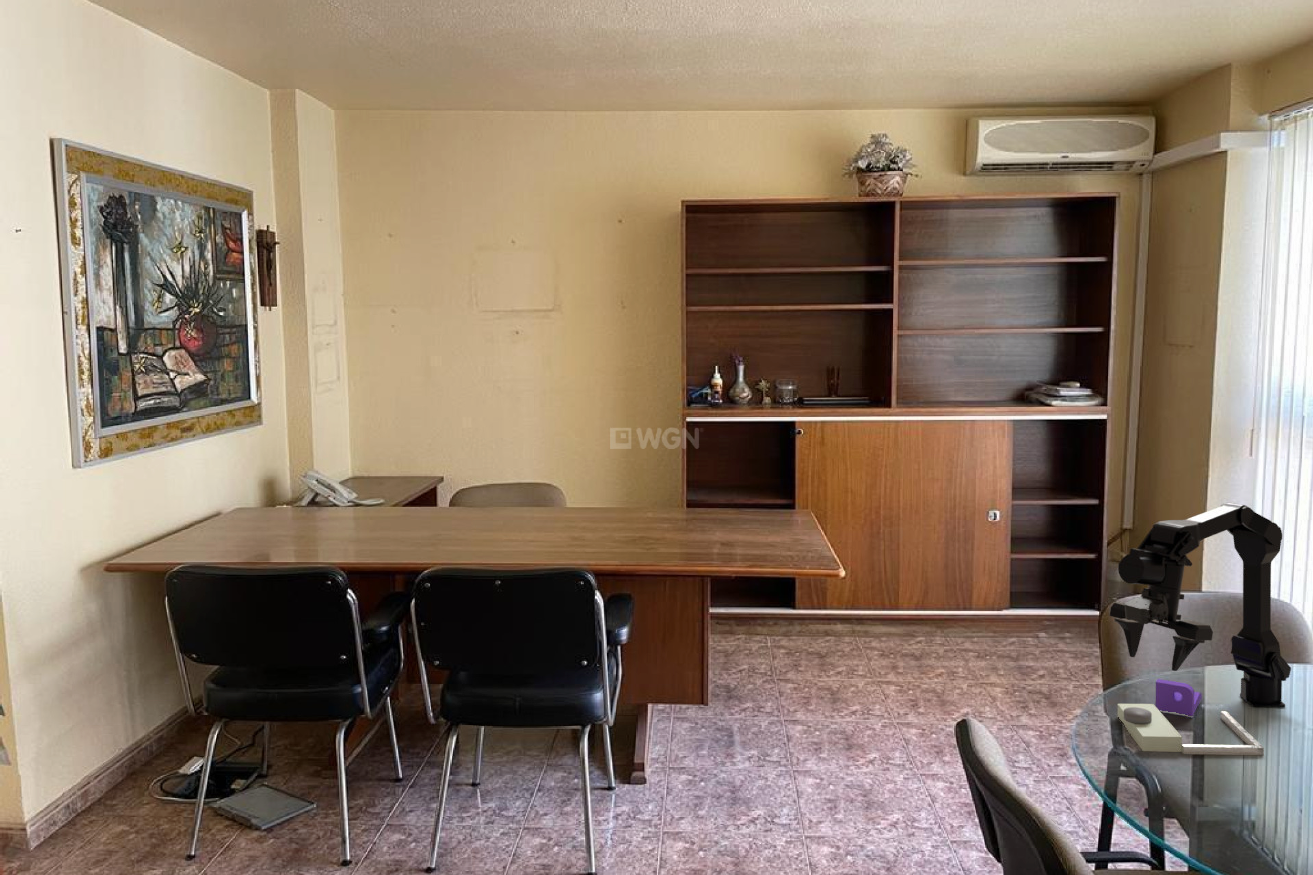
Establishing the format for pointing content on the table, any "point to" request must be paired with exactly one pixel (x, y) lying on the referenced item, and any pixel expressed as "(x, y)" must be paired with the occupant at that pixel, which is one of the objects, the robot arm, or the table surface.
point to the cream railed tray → (1162, 736)
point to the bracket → (1176, 697)
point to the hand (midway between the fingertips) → (1152, 663)
